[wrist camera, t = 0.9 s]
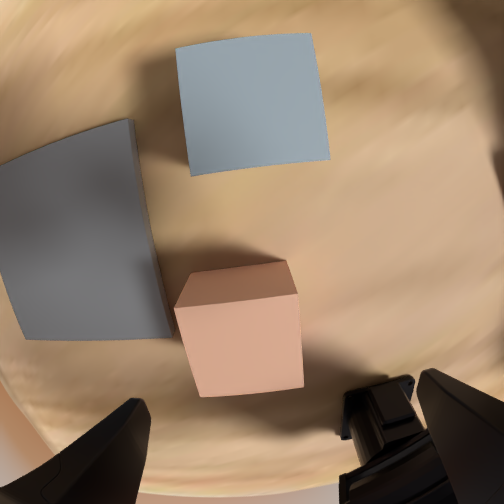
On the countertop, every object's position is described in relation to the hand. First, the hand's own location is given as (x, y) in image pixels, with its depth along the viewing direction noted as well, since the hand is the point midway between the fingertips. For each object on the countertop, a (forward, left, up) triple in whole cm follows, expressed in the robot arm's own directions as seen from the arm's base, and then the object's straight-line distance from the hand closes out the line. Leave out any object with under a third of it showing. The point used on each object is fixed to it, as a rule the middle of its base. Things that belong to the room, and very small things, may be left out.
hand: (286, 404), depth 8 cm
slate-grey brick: (+10, 0, -11) cm, 15 cm away
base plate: (+4, +14, -11) cm, 18 cm away
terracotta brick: (-2, +2, -11) cm, 12 cm away
